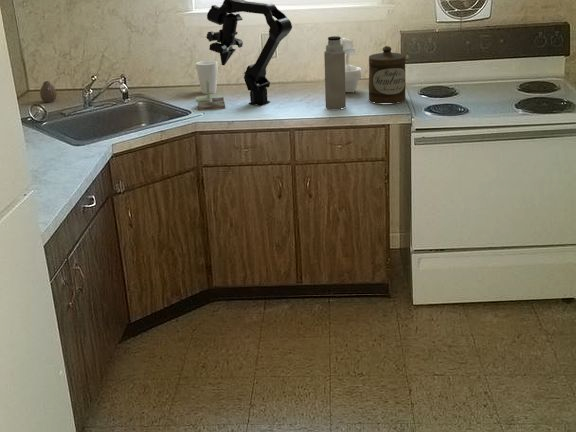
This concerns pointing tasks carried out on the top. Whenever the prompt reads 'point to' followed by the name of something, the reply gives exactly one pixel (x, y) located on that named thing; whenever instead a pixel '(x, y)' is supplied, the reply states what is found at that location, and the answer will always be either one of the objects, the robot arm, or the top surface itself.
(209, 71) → the foam cup
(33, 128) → the top surface
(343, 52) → the thermos bottle
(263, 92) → the robot arm
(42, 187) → the top surface
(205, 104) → the station
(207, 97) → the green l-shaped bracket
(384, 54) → the wooden container
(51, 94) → the avocado
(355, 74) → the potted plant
